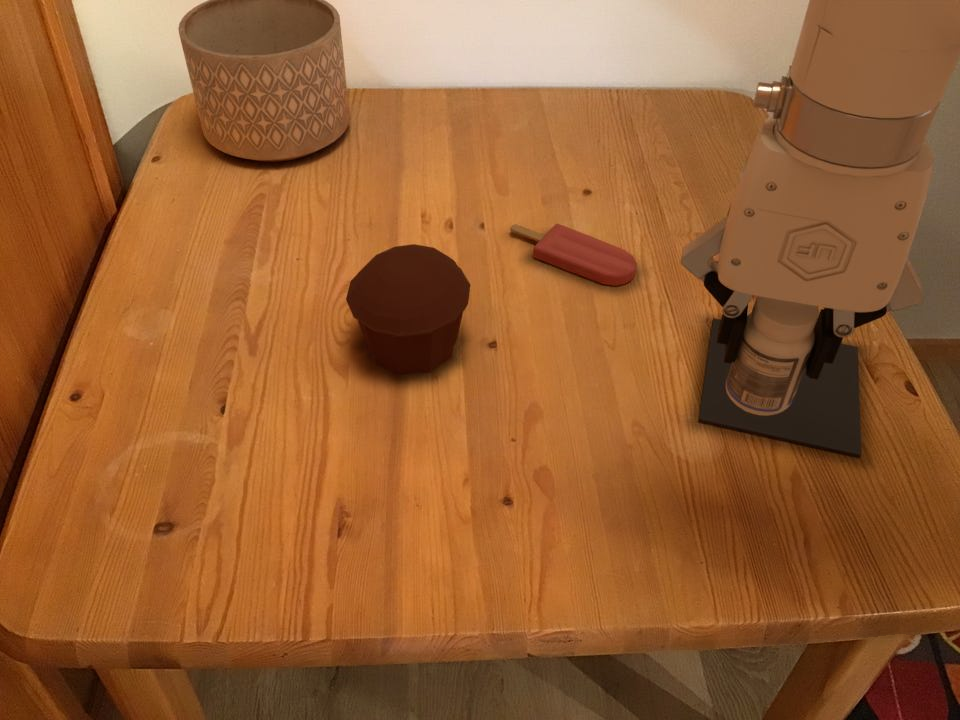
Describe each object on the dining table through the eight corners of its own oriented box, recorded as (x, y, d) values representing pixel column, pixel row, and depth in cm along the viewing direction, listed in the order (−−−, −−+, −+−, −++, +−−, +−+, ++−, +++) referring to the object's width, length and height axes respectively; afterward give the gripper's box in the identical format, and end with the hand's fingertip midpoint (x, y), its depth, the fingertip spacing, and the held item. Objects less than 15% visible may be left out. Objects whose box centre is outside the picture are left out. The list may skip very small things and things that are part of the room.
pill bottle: (756, 360, 63) (785, 272, 57) (806, 399, 60) (841, 311, 54) (710, 386, 61) (734, 298, 55) (758, 427, 58) (790, 340, 52)
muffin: (396, 289, 88) (390, 210, 81) (490, 325, 85) (492, 246, 78) (329, 360, 81) (316, 280, 74) (429, 403, 77) (426, 323, 70)
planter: (353, 93, 117) (342, -12, 107) (348, 168, 104) (336, 56, 94) (215, 96, 116) (192, -11, 105) (194, 172, 103) (164, 59, 92)
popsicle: (523, 209, 96) (645, 255, 91) (523, 220, 97) (642, 266, 92) (499, 233, 93) (623, 282, 87) (498, 244, 94) (621, 293, 88)
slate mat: (856, 349, 83) (857, 346, 83) (859, 458, 74) (861, 455, 73) (712, 320, 86) (713, 318, 86) (698, 422, 76) (698, 419, 76)
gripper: (685, 129, 44) (638, 371, 57) (1038, 177, 41) (905, 422, 54) (698, 65, 49) (653, 300, 62) (1013, 103, 46) (897, 343, 59)
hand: (770, 355), depth 58 cm, fingers closed on pill bottle, 4 cm apart
